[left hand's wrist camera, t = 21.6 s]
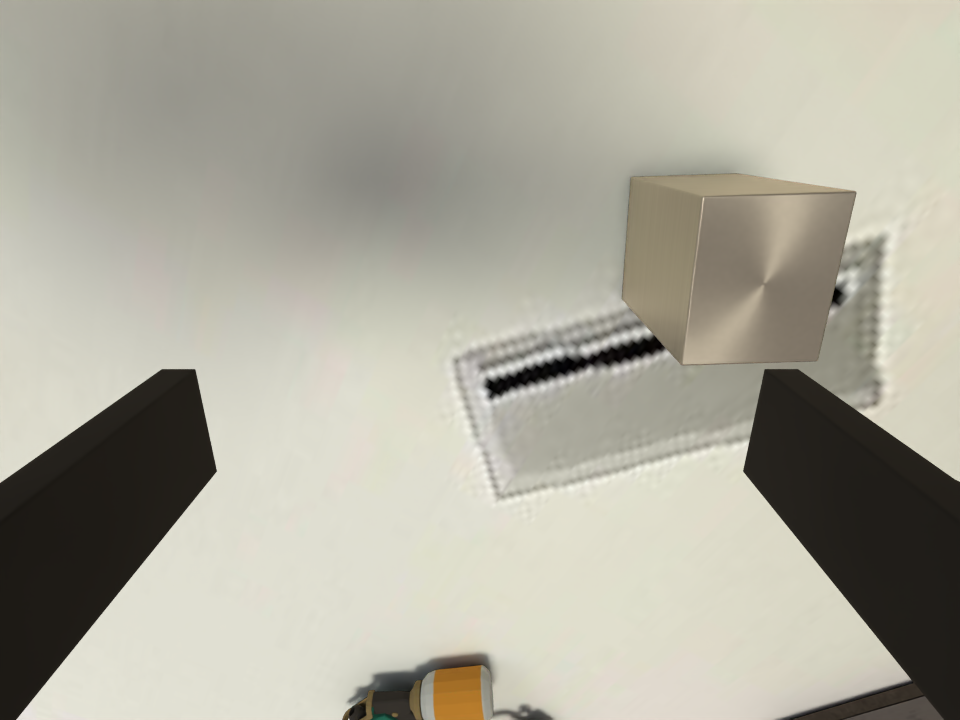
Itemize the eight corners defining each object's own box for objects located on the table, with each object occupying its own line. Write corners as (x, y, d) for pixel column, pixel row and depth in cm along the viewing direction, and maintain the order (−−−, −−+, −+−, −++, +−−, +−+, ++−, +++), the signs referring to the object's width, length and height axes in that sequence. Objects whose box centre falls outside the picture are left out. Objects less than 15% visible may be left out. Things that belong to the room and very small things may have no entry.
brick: (621, 299, 34) (681, 366, 24) (630, 176, 31) (702, 196, 21) (719, 296, 34) (818, 361, 24) (737, 173, 31) (857, 191, 21)
